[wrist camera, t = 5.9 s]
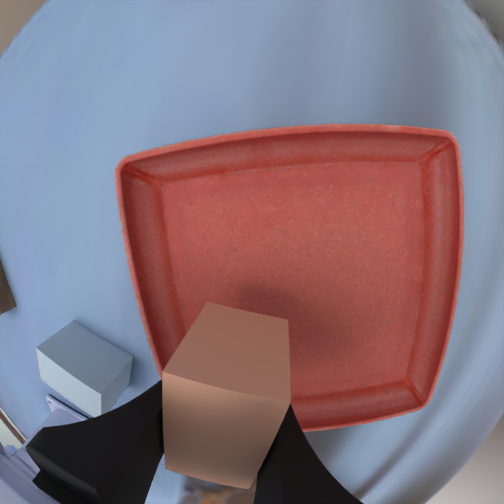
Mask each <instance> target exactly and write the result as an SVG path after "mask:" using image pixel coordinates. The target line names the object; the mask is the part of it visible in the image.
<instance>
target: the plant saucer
mask: <svg viewBox="0 0 504 504" xmlns="http://www.w3.org/2000/svg"><path fill="white" fill-rule="evenodd" d="M115 184H116V193H117V201H118V208H119V216H120V223H121V229H122V235H123V240H124V246H125V251H126V256H127V261H128V266H129V271H130V276H131V280H132V284H133V289H134V292H135V297H136V301H137V304H138V308H139V313H140V316H141V320H142V323H143V326H144V330H145V333H146V336H147V340H148V344H149V347H150V350H151V352H152V355H153V359H154V362H155V365H156V367H157V370H158V373H159V376H160V379H162V373H163V370H164V368H165V367H166V365H167V364H168V362H169V360H170V359H171V357H172V356H173V354H174V353H175V351H176V349H177V348H178V346H179V345H180V343H181V342H182V340H183V338H184V337H185V335H186V334H187V332H188V331H189V329H190V328H191V326H192V324H193V323H194V321H195V320H196V318H197V317H198V315H199V314H200V312H201V310H202V309H203V307H204V306H205V304H206V303H207V302H211V303H215V304H219V305H223V306H227V307H232V308H236V309H240V310H245V311H249V312H254V313H259V314H263V315H268V316H273V317H278V318H283V319H288V328H289V353H290V387H291V405H292V408H293V411H294V413H295V416H296V418H297V420H298V422H299V425H300V427H301V429H302V431H303V432H308V431H319V430H328V429H334V428H342V427H348V426H354V425H359V424H365V423H370V422H375V421H379V420H384V419H388V418H392V417H396V416H401V415H405V414H408V413H412V412H415V411H418V410H420V409H422V408H424V407H425V406H426V405H427V404H428V403H429V402H430V400H431V398H432V395H433V392H434V390H435V387H436V385H437V381H438V378H439V375H440V372H441V368H442V365H443V361H444V358H445V355H446V351H447V347H448V344H449V340H450V334H451V330H452V326H453V321H454V316H455V311H456V306H457V300H458V292H459V286H460V277H461V269H462V256H463V246H464V188H463V174H462V164H461V154H460V148H459V145H458V142H457V140H456V138H455V137H454V135H453V134H452V133H451V132H449V131H446V130H441V129H432V128H423V127H414V126H401V125H385V124H334V123H332V124H321V125H298V126H291V127H278V128H268V129H257V130H249V131H243V132H237V133H230V134H222V135H218V136H210V137H206V138H201V139H195V140H188V141H184V142H180V143H176V144H171V145H166V146H162V147H158V148H153V149H149V150H145V151H141V152H138V153H134V154H131V155H127V156H125V157H123V158H122V159H121V160H120V161H119V163H118V165H117V167H116V169H115Z"/></svg>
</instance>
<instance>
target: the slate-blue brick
mask: <svg viewBox="0 0 504 504" xmlns="http://www.w3.org/2000/svg"><path fill="white" fill-rule="evenodd" d="M36 350H37V358H38V364H39V370H40V376H41V379H42V380H43V381H44V382H45V383H46V384H48V385H49V386H50V387H51V388H53V389H54V390H55V391H57V392H58V393H59V394H61V395H62V396H63V397H65V398H66V399H67V400H69V401H70V402H72V403H73V404H74V405H76V406H77V407H79V408H80V409H82V410H83V411H85V412H86V413H88V414H89V415H91V416H93V417H97V416H99V415H102V414H105V413H107V412H109V411H110V409H111V408H112V407H113V405H114V404H115V403H116V401H117V400H118V399H119V397H120V396H121V395H122V393H123V392H124V390H125V389H126V388H127V386H128V385H129V381H130V374H131V368H132V361H133V355H131V354H129V353H127V352H125V351H123V350H122V349H120V348H118V347H116V346H114V345H113V344H111V343H109V342H108V341H106V340H104V339H102V338H101V337H99V336H98V335H96V334H94V333H93V332H91V331H89V330H88V329H86V328H85V327H83V326H82V325H80V324H79V323H77V322H76V321H73V322H71V323H70V324H68V325H67V326H65V327H64V328H63V329H61V330H60V331H58V332H57V333H56V334H54V335H53V336H51V337H50V338H49V339H47V340H46V341H45V342H43V343H42V344H40V345H39V346H38V347H36Z"/></svg>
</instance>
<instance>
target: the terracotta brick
mask: <svg viewBox="0 0 504 504" xmlns="http://www.w3.org/2000/svg"><path fill="white" fill-rule="evenodd" d="M290 402H291V387H290V353H289V328H288V319H283V318H278V317H273V316H268V315H263V314H259V313H254V312H249V311H245V310H240V309H236V308H232V307H227V306H223V305H219V304H215V303H211V302H207V303H206V304H205V306H204V307H203V309H202V310H201V312H200V314H199V315H198V317H197V318H196V320H195V321H194V323H193V324H192V326H191V328H190V329H189V331H188V332H187V334H186V335H185V337H184V338H183V340H182V342H181V343H180V345H179V346H178V348H177V349H176V351H175V353H174V354H173V356H172V357H171V359H170V360H169V362H168V364H167V365H166V367H165V368H164V370H163V373H162V407H163V438H164V455H165V469H167V470H170V471H173V472H176V473H179V474H183V475H186V476H190V477H193V478H197V479H201V480H205V481H209V482H213V483H218V484H222V485H227V486H233V487H238V488H244V489H249V488H250V486H251V484H252V482H253V480H254V478H255V477H256V475H257V473H258V471H259V469H260V467H261V465H262V463H263V461H264V459H265V457H266V455H267V453H268V451H269V449H270V447H271V445H272V443H273V441H274V438H275V436H276V434H277V432H278V430H279V428H280V425H281V423H282V421H283V419H284V416H285V414H286V412H287V409H288V407H289V405H290Z"/></svg>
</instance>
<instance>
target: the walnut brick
mask: <svg viewBox="0 0 504 504" xmlns="http://www.w3.org/2000/svg"><path fill="white" fill-rule="evenodd" d="M14 307H16V304H15V301H14V299H13V296H12V293H11V291H10V288H9V285H8V283H7V280H6V277H5V274H4V271H3V268H2V264H1V261H0V315H1V314H3V313H5V312H6V311H8V310H10V309H12V308H14Z"/></svg>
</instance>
